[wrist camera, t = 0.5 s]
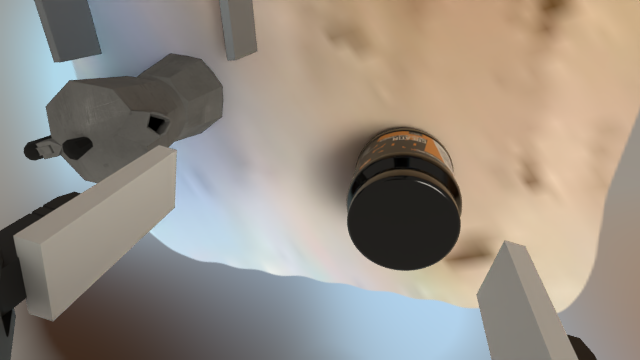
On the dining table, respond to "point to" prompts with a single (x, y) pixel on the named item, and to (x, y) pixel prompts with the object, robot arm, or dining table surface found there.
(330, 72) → the dining table surface
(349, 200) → the supplement container
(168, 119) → the coffeepot
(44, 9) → the box
